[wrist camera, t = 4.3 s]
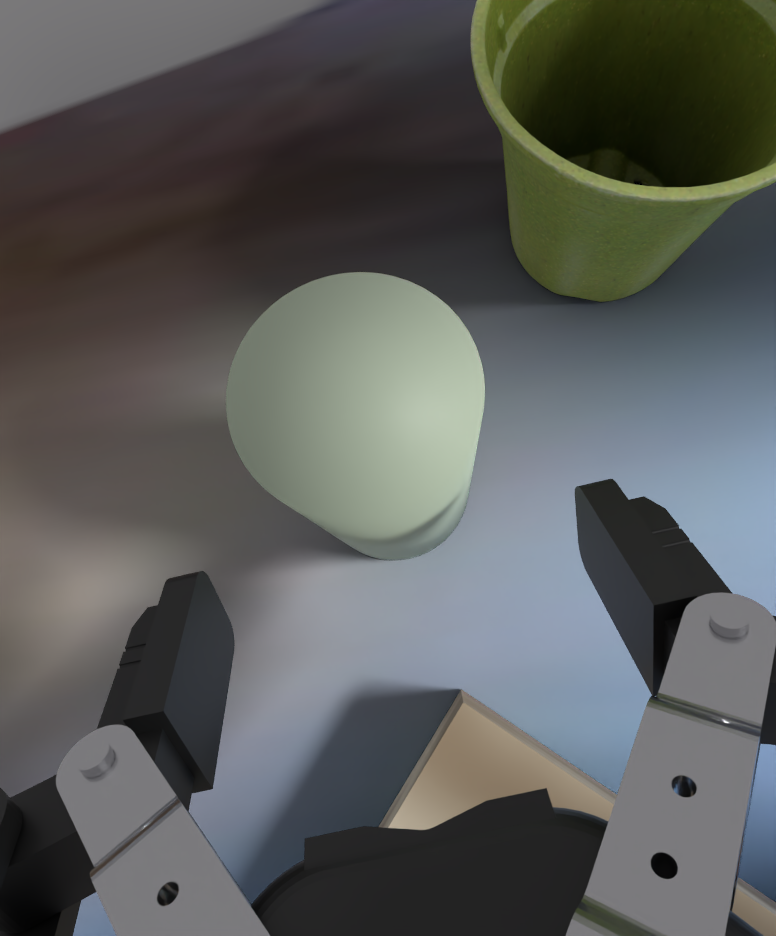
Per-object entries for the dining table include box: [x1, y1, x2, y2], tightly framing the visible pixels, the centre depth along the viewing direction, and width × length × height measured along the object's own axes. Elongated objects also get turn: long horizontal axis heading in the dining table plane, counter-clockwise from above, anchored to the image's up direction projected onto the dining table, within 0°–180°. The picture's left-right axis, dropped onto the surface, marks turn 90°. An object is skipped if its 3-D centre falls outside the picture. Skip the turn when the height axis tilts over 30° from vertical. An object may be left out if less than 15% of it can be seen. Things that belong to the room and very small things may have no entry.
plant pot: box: [471, 0, 776, 302], centre depth 20 cm, size 9×9×9 cm
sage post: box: [226, 272, 485, 560], centre depth 18 cm, size 5×5×10 cm
